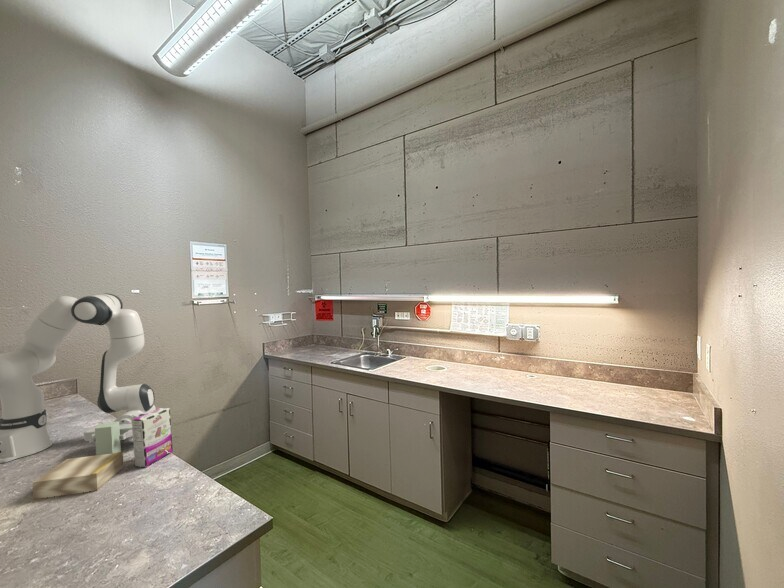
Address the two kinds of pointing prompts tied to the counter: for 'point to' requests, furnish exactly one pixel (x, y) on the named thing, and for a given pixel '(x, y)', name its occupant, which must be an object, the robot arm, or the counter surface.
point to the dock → (78, 475)
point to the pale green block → (107, 438)
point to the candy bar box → (152, 436)
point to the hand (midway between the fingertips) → (106, 439)
